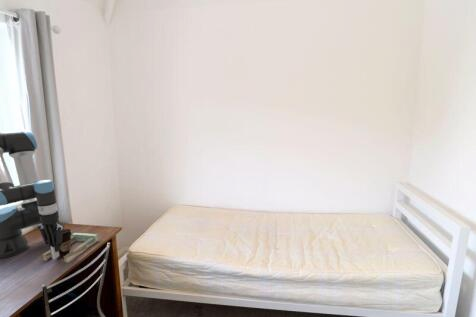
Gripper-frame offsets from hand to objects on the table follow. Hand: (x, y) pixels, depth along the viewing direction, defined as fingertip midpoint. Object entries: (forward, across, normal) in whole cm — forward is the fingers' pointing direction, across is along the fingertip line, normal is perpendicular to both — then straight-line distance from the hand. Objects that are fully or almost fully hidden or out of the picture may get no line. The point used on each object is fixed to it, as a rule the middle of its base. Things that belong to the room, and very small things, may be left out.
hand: (55, 257), depth 135 cm
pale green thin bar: (+2, -7, +10) cm, 12 cm away
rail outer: (+2, +6, +10) cm, 11 cm away
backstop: (+2, -1, +21) cm, 21 cm away
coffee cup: (+2, 0, +5) cm, 5 cm away
